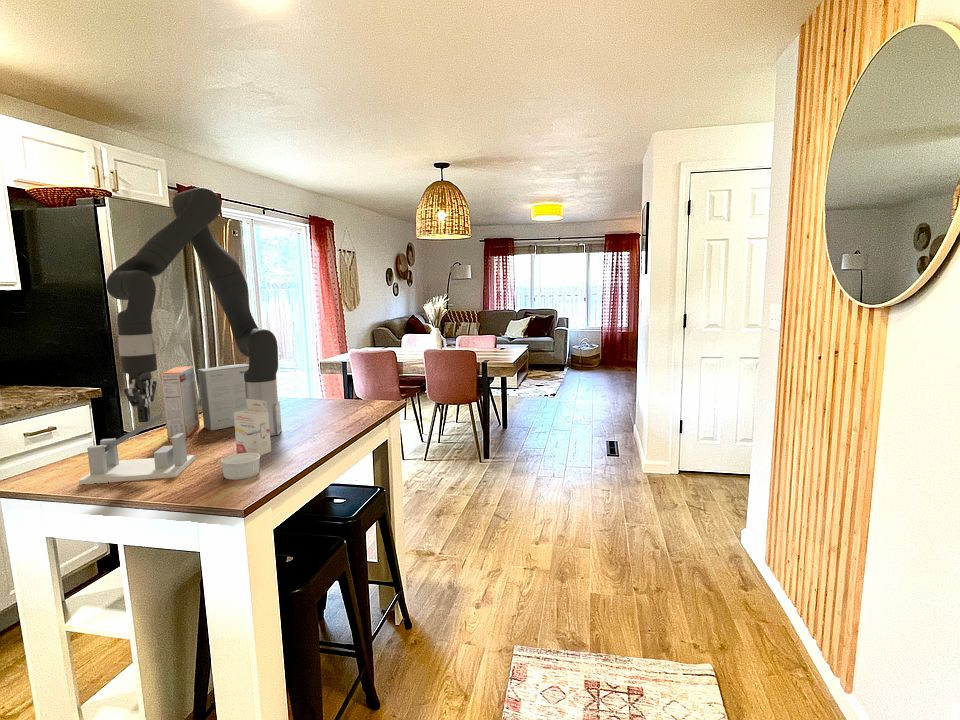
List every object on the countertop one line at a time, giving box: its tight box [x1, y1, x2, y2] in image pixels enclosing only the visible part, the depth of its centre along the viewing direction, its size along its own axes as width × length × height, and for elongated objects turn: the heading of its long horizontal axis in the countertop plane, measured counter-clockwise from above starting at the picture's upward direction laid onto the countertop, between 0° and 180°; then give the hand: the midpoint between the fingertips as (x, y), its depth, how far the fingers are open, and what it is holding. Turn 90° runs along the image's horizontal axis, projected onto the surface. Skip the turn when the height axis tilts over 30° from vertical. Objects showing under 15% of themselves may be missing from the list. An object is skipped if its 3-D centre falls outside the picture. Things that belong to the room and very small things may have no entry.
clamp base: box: [78, 433, 196, 486], centre depth 132 cm, size 21×14×9 cm, turn 101°
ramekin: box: [220, 453, 261, 481], centre depth 129 cm, size 9×9×4 cm
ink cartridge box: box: [234, 399, 272, 457], centre depth 145 cm, size 9×5×15 cm, turn 65°
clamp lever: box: [104, 413, 165, 454], centre depth 131 cm, size 17×4×2 cm, turn 101°
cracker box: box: [159, 365, 201, 441], centre depth 167 cm, size 14×6×21 cm, turn 13°
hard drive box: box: [197, 363, 249, 432], centre depth 177 cm, size 16×8×20 cm, turn 133°
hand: (144, 421), depth 131 cm, fingers closed
